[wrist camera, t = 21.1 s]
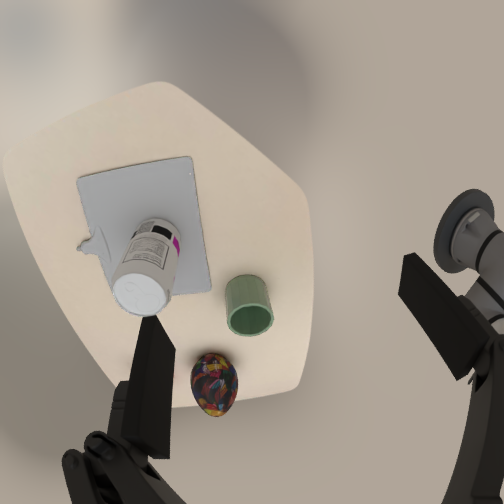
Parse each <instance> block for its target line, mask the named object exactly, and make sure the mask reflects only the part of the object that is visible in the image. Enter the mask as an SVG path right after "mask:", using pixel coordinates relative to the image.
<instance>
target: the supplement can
mask: <svg viewBox="0 0 504 504" xmlns="http://www.w3.org/2000/svg"><path fill="white" fill-rule="evenodd" d="M180 247H181V238H180V234H179V232H178V231H177V229H176V227H174V226H173V225H172V224H171V223H169V222H168V221H165V220H162V219H149V220H146V221H143V222H142V223H141V224H140V225H139V226H138V227H137V229H136V230H135V232H134V234H133V236H132V238H131V240H130V242H129V244H128V246H127V248H126V250H125V252H124V254H123V256H122V258H121V260H120V262H119V264H118V266H117V268H116V270H115V272H114V274H113V277H112V289H113V296H114V298H115V301H116V303H117V304H118V305H119V306H120V307H121V308H122V309H123V310H125V311H126V312H128V313H129V314H132V315H135V316H138V317H147V316H152V315H156V314H158V313H159V312H161V311H162V309H163V308H165V307H166V306H167V304H168V303H169V302H170V300H171V297H172V291H173V285H174V279H175V273H176V268H177V263H178V257H179V252H180Z"/></svg>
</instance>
